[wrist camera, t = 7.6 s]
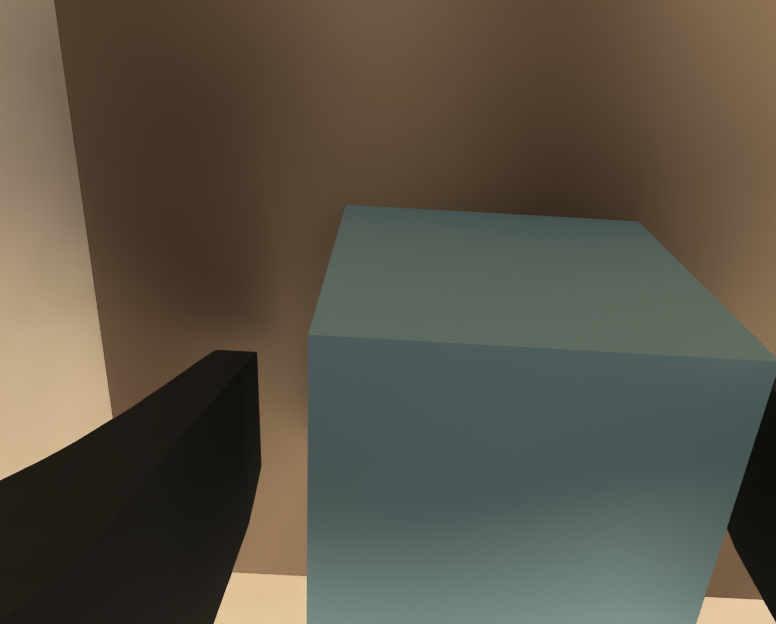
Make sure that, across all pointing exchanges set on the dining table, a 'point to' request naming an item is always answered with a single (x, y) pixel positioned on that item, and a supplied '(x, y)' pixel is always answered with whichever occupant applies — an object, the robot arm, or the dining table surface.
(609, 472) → the teal cube
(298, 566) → the walnut board
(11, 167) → the dining table surface
